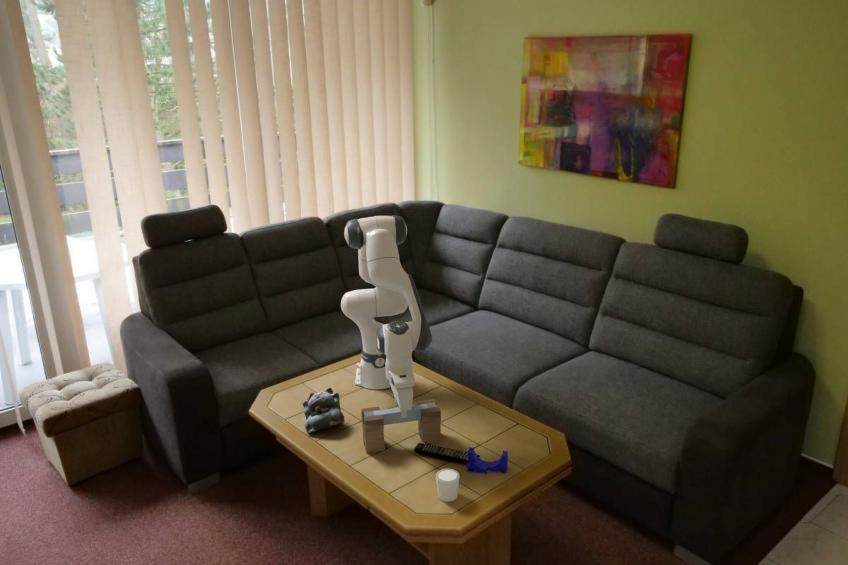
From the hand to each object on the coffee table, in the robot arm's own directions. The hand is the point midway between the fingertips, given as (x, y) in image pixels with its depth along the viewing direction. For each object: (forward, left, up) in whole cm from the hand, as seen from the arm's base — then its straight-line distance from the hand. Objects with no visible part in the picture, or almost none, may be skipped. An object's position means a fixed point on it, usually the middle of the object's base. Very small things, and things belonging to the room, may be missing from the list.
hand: (400, 409), depth 214 cm
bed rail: (0, 0, -4) cm, 4 cm away
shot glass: (+32, +7, -12) cm, 35 cm away
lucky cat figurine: (-17, -25, -12) cm, 33 cm away
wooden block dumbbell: (0, 0, -12) cm, 12 cm away
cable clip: (+23, +22, -12) cm, 34 cm away
